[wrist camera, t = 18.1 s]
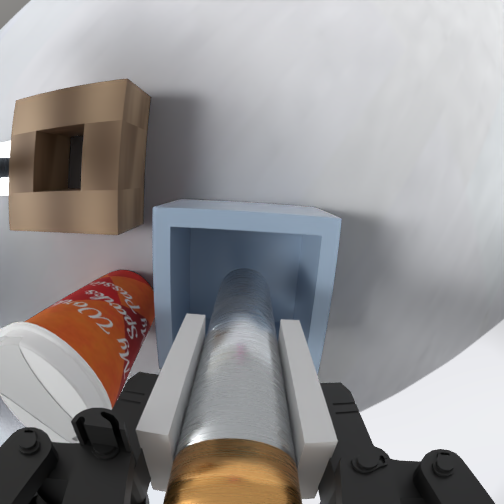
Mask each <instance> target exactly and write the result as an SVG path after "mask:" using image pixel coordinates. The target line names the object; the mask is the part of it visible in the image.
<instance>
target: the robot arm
mask: <svg viewBox="0 0 504 504" xmlns="http://www.w3.org/2000/svg"><path fill="white" fill-rule="evenodd" d="M204 342H205V315H200V314H188V313H187V314H186V316H185V318H184V320H183V323H182V325H181V327H180V329H179V331H178V334H177V336H176V338H175V340H174V342H173V345H172V347H171V349H170V351H169V354H168V356H167V358H166V360H165V363H164V365H163V367H162V369H161V372H160V374H159V375H156V374H149V373H143V372H138V373H137V374H136V375H134V376H133V377H131V378H130V379H129V380H128V381H127V383H126V385H125V387H124V388H123V392H121V394H120V396H119V398H118V400H117V401H116V403H115V405H114V407H113V408H112V410H110V409H106V408H90V409H86V410H83V411H81V412H80V413H78V414H76V415H75V417H74V418H73V419H72V421H71V423H72V426H73V428H74V431H75V433H76V436H77V438H78V440H79V443H60V442H52V441H51V439H50V438H49V436H48V434H47V433H45V432H44V431H43V430H41V429H38V428H35V427H25V428H22V429H19V430H17V431H16V432H15V433H13V434H12V435H11V436H10V437H9V438H8V439H7V440H6V441H5V443H4V444H3V445H2V446H1V447H0V504H149V499H148V495H147V490H148V487H149V483H150V482H151V485H152V488H153V489H155V490H160V491H165V492H166V490H167V486H168V482H169V478H170V473H171V469H172V465H173V461H174V457H175V453H176V449H177V445H178V441H179V437H180V433H181V429H182V425H183V421H184V417H185V414H186V410H187V406H188V402H189V398H190V394H191V390H192V387H193V383H194V379H195V375H196V372H197V368H198V364H199V360H200V357H201V353H202V349H203V346H204ZM278 347H279V354H280V360H281V366H282V373H283V379H284V386H285V392H286V398H287V405H288V411H289V418H290V425H291V431H292V438H293V444H294V451H295V458H296V465H297V471H298V478H299V485H300V492H301V499H310V498H315V496H316V493H317V491H318V490H319V495H320V500H321V502H320V504H495V503H494V501H493V500H492V499H491V497H490V496H489V495H488V493H487V492H486V490H485V489H484V488H483V486H482V485H481V484H480V483H479V481H478V480H477V478H476V477H475V476H474V474H473V473H472V472H471V470H470V469H469V468H468V466H467V465H466V464H465V463H464V461H463V460H462V459H461V458H460V457H459V456H458V455H457V454H456V453H454V452H451V451H449V450H442V449H438V450H433V451H431V452H429V453H427V454H426V455H425V456H424V458H423V459H422V461H421V462H415V461H399V460H393V459H390V458H389V456H388V455H387V454H386V453H385V452H384V451H383V450H382V449H380V448H377V447H375V446H374V445H373V444H372V441H371V439H370V436H369V434H368V432H367V429H366V427H365V425H364V422H363V420H362V418H361V415H360V413H359V410H358V408H357V406H356V404H355V401H354V399H353V396H352V394H351V392H350V391H349V390H348V389H347V388H346V387H345V386H344V385H343V384H341V383H320V382H319V379H318V376H317V373H316V370H315V367H314V364H313V360H312V357H311V354H310V351H309V348H308V345H307V342H306V339H305V336H304V333H303V330H302V327H301V324H300V321H299V320H285V319H281V320H280V329H279V338H278Z"/></svg>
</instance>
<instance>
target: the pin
mask: <svg viewBox="0 0 504 504" xmlns="http://www.w3.org/2000/svg"><path fill="white" fill-rule="evenodd" d="M163 504H302V499H301V492H300V485H299V478H298V471H297V465H296V458H295V451H294V444H293V438H292V431H291V425H290V418H289V411H288V405H287V398H286V392H285V386H284V379H283V373H282V366H281V360H280V354H279V347H278V341H277V335H276V329H275V323H274V316H273V310H272V304H271V298H270V292H269V286H268V283H267V281H266V279H265V278H264V277H263V276H262V275H261V274H260V273H259V272H257V271H255V270H253V269H248V268H240V269H236V270H233V271H231V272H230V273H228V274H227V275H226V276H225V277H224V278H223V280H222V282H221V284H220V288H219V291H218V295H217V299H216V302H215V306H214V309H213V313H212V316H211V320H210V324H209V327H208V331H207V335H206V338H205V342H204V346H203V349H202V353H201V357H200V360H199V364H198V368H197V372H196V375H195V379H194V383H193V387H192V390H191V394H190V398H189V402H188V406H187V410H186V414H185V417H184V421H183V425H182V429H181V433H180V437H179V441H178V445H177V449H176V453H175V457H174V461H173V465H172V469H171V473H170V478H169V482H168V486H167V490H166V494H165V499H164V503H163Z"/></svg>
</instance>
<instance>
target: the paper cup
mask: <svg viewBox="0 0 504 504" xmlns="http://www.w3.org/2000/svg"><path fill="white" fill-rule="evenodd" d="M154 318H155V309H154V291H153V289H152V288H151V286H150V285H149V283H148V282H147V281H146V280H145V279H144V278H143V277H141V276H140V275H138V274H136V273H134V272H132V271H128V270H117V271H113V272H111V273H108V274H106V275H104V276H102V277H100V278H99V279H97V280H95V281H93V282H91V283H90V284H88V285H86V286H84V287H82V288H81V289H79V290H77V291H75V292H74V293H72V294H70V295H68V296H67V297H65V298H63V299H62V300H60V301H58V302H57V303H55V304H53V305H51V306H50V307H48V308H46V309H45V310H43V311H41V312H40V313H38V314H37V315H35V316H33V317H32V318H30V319H28V320H27V321H25V322H15V323H11V324H9V325H7V326H5V327H2V328H0V396H1V398H2V400H3V401H4V403H5V404H6V406H7V407H8V408H9V410H10V411H11V412H12V413H13V414H14V416H15V417H16V418H17V419H18V420H19V421H20V422H21V423H22V424H23V425H24V426H26V427H35V428H38V429H41V430H43V431H44V432H45V433H47V434H48V436H49V438H50V439H51V441H52V442H60V443H79V440H78V438H77V436H76V433H75V431H74V428H73V426H72V423H71V421H72V419H73V418H74V417H75V415H76V414H78V413H80V412H81V411H83V410H86V409H90V408H106V409H110V410H112V408H113V407H114V405H115V403H116V401H117V399H118V397H119V395H120V393H121V391H122V389H123V386H124V384H125V382H126V379H127V377H128V375H129V372H130V370H131V368H132V365H133V363H134V361H135V359H136V356H137V354H138V352H139V350H140V348H141V346H142V344H143V342H144V340H145V337H146V335H147V333H148V331H149V329H150V327H151V325H152V322H153V320H154Z"/></svg>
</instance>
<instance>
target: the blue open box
mask: <svg viewBox="0 0 504 504" xmlns="http://www.w3.org/2000/svg"><path fill="white" fill-rule="evenodd" d="M341 221H342V218H339V217H337V216H335V215H333V214H330V213H328V212H326V211H323V210H321V209H318V208H316V207H309V206H297V205H284V204H270V203H255V202H238V201H219V200H196V199H179V200H176V201H172V202H169V203H165V204H162V205H158V206H155V207H153V287H154V309H155V325H156V338H157V350H158V361H159V369H162V367H163V365H164V363H165V360H166V358H167V356H168V354H169V351H170V349H171V347H172V345H173V342H174V340H175V338H176V336H177V334H178V331H179V329H180V327H181V325H182V323H183V320H184V318H185V316H186V314H187V313H188V314H200V315H205V338H206V335H207V331H208V327H209V324H210V320H211V316H212V313H213V309H214V306H215V302H216V299H217V295H218V291H219V288H220V284H221V282H222V280H223V278H224V277H225V276H226V275H227V274H228V273H230V272H231V271H233V270H236V269H240V268H248V269H253V270H255V271H257V272H259V273H260V274H261V275H262V276H263V277H264V278H265V279H266V281H267V283H268V286H269V292H270V298H271V304H272V310H273V316H274V323H275V329H276V335H277V341H278V338H279V329H280V320H281V319H285V320H299V321H300V324H301V327H302V330H303V333H304V336H305V339H306V342H307V345H308V348H309V351H310V354H311V357H312V360H313V364H314V367H315V370H316V373H317V376H318V371H319V366H320V361H321V356H322V351H323V346H324V340H325V335H326V329H327V323H328V317H329V311H330V305H331V299H332V292H333V285H334V278H335V271H336V264H337V256H338V248H339V239H340V230H341Z"/></svg>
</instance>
